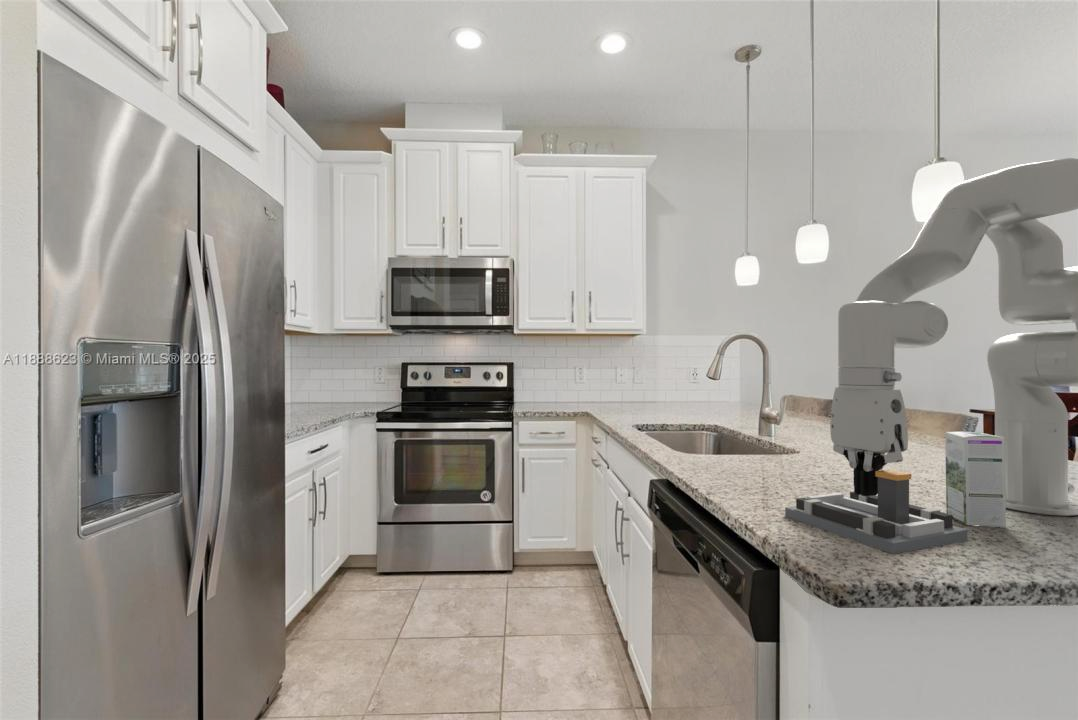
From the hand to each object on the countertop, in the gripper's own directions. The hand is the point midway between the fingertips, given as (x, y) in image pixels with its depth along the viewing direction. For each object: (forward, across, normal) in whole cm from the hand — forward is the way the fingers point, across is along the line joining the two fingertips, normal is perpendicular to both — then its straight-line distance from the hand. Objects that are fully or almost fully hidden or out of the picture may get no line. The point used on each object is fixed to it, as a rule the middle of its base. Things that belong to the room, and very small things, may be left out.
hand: (865, 494), depth 80 cm
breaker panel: (+5, -1, 0) cm, 5 cm away
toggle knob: (+3, -4, 0) cm, 5 cm away
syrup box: (+5, -4, -19) cm, 20 cm away
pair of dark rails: (+4, -1, 0) cm, 4 cm away
